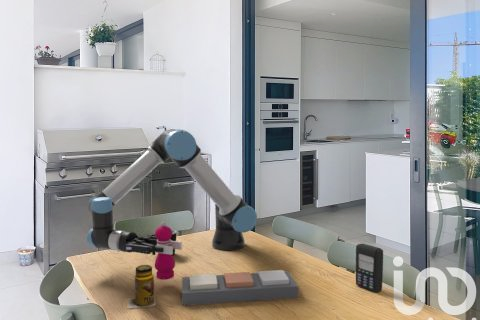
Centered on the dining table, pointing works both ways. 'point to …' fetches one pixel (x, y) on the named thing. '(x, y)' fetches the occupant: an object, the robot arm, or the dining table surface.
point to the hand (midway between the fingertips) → (176, 248)
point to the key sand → (203, 282)
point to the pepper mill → (164, 261)
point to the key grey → (273, 277)
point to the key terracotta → (238, 279)
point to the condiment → (143, 288)
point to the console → (238, 292)
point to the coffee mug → (172, 239)
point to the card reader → (369, 267)
